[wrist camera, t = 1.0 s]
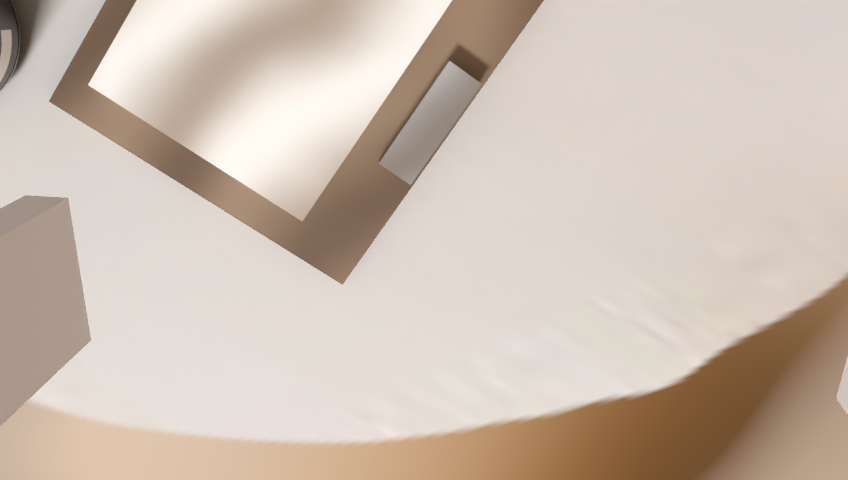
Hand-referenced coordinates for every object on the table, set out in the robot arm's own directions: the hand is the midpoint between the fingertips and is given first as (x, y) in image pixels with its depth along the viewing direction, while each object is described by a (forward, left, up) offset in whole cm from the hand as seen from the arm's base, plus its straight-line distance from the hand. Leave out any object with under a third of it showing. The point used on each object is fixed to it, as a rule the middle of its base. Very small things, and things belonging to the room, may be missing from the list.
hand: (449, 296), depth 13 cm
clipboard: (-5, +1, -20) cm, 21 cm away
